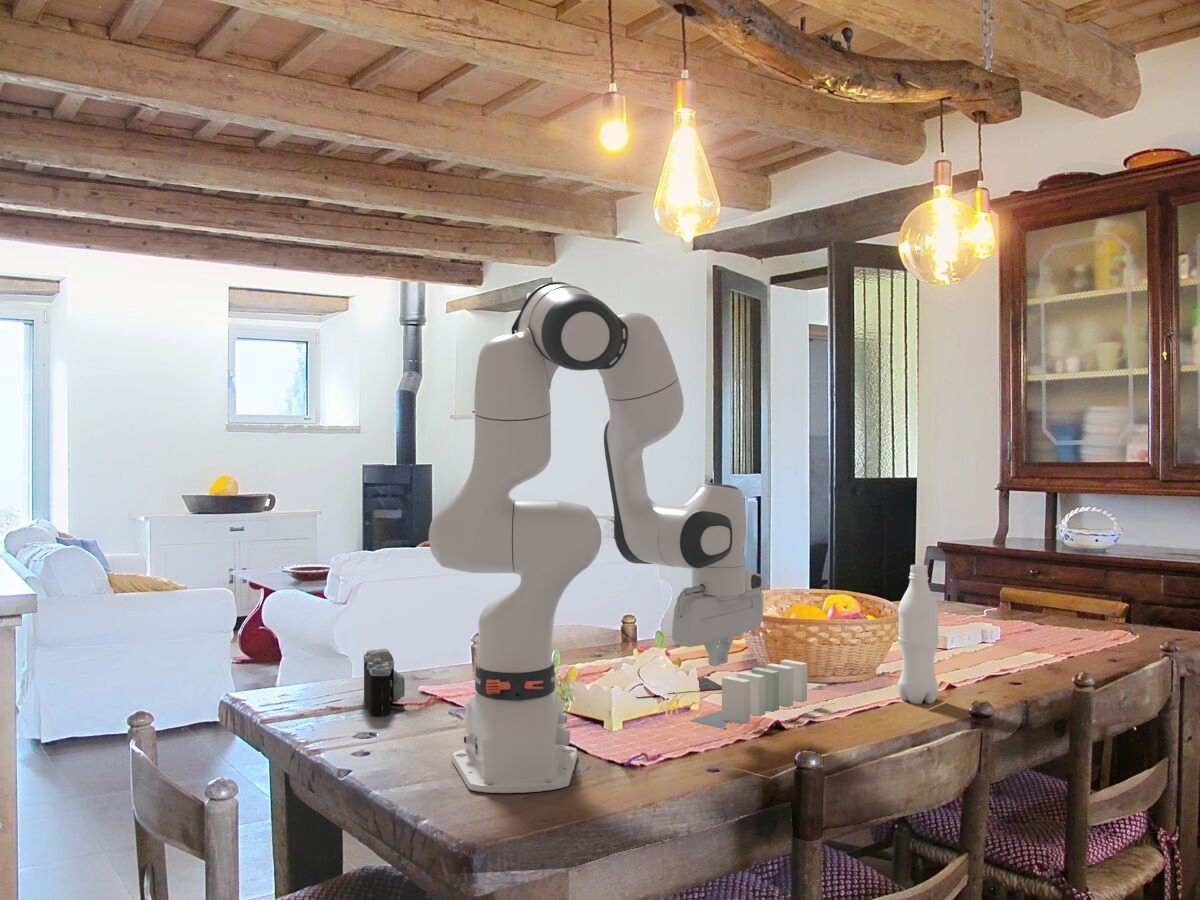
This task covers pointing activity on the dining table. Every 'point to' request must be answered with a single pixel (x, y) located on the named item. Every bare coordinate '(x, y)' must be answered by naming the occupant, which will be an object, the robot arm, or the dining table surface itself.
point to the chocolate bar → (708, 685)
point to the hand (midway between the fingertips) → (718, 664)
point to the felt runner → (712, 720)
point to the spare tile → (770, 688)
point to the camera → (381, 682)
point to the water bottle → (918, 639)
